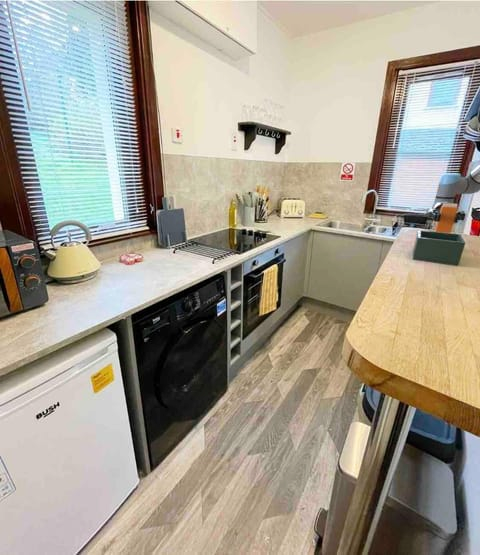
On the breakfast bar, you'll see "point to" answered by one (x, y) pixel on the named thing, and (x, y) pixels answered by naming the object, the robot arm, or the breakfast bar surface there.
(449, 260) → the waste bin
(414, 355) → the breakfast bar surface
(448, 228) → the block
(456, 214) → the robot arm
